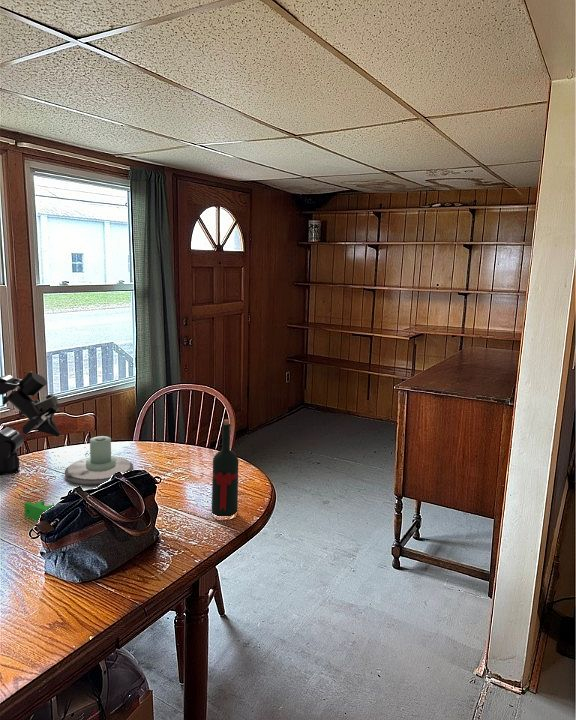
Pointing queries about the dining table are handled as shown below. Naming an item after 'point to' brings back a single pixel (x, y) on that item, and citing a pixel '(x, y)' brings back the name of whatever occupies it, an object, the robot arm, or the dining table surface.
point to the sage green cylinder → (100, 454)
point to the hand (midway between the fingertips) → (59, 435)
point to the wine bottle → (225, 477)
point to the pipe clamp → (35, 509)
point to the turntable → (94, 472)
